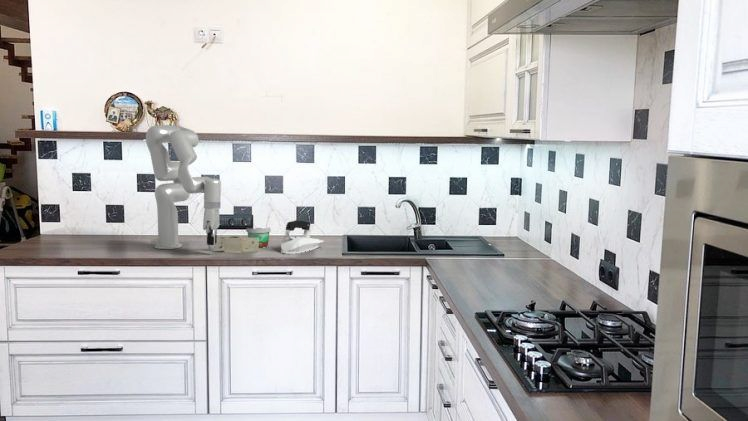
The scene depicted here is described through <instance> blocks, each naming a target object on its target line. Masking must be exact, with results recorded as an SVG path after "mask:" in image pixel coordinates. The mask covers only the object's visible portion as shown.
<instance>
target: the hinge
mask: <svg viewBox="0 0 748 421" xmlns="http://www.w3.org/2000/svg"><path fill="white" fill-rule="evenodd" d="M259 249H260V248H259V238H250V237H248V236H246V237H245V236H244V235H227V236H220V235H219V236H217V243H216V244H215V251H214V252H224V253H225V254H241V253H257V252H258V253H259Z"/></svg>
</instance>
